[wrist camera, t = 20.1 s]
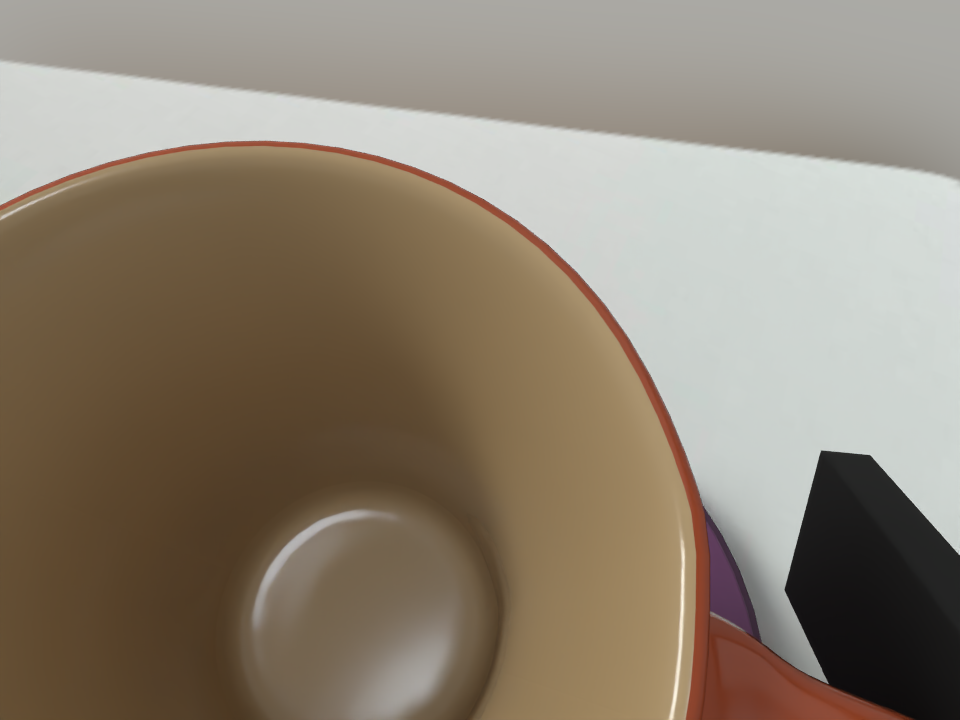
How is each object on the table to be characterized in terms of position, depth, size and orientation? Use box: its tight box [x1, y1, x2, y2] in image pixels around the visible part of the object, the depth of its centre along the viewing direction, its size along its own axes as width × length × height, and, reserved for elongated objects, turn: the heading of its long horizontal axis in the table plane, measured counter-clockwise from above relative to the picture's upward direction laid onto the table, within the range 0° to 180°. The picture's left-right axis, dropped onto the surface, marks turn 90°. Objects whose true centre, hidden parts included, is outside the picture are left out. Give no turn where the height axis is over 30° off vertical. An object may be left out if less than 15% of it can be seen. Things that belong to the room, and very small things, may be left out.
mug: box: [0, 141, 915, 720], centre depth 10 cm, size 12×9×10 cm
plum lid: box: [703, 507, 762, 643], centre depth 17 cm, size 15×15×1 cm
